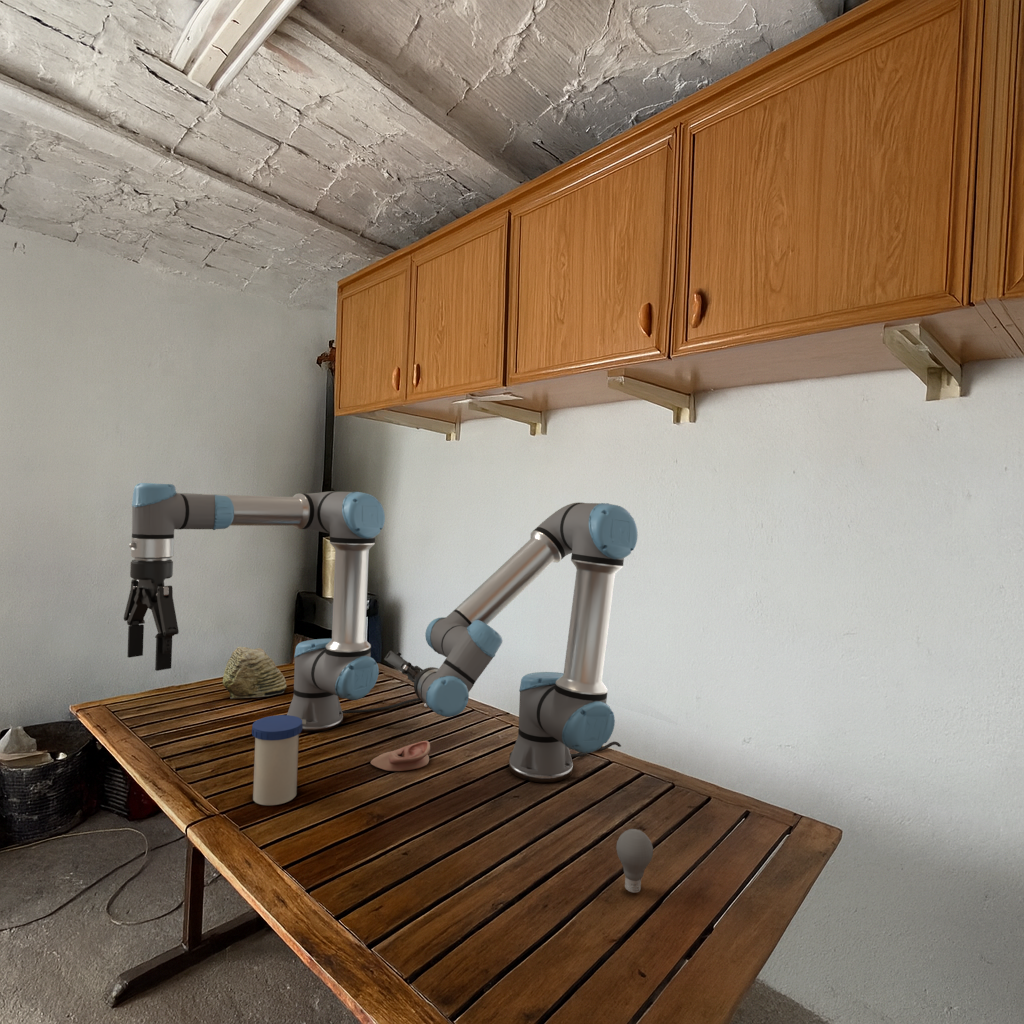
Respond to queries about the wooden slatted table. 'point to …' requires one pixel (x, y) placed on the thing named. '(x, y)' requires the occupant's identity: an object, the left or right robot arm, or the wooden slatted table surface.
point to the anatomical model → (404, 757)
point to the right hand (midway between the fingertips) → (416, 675)
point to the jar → (275, 770)
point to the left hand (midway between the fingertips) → (148, 662)
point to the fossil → (252, 674)
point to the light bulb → (634, 857)
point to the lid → (277, 727)
